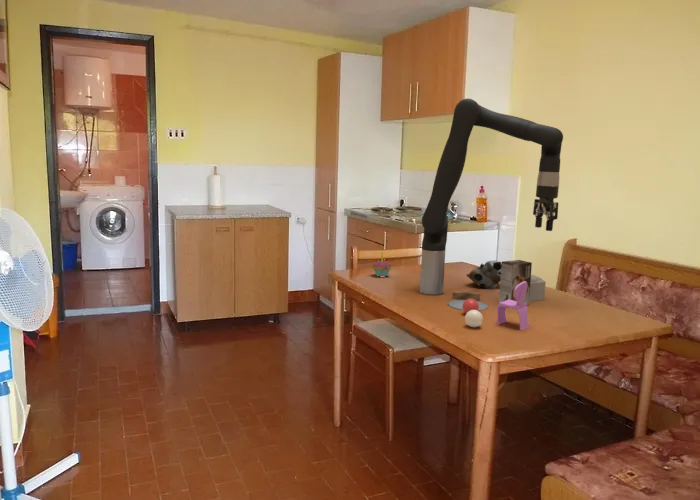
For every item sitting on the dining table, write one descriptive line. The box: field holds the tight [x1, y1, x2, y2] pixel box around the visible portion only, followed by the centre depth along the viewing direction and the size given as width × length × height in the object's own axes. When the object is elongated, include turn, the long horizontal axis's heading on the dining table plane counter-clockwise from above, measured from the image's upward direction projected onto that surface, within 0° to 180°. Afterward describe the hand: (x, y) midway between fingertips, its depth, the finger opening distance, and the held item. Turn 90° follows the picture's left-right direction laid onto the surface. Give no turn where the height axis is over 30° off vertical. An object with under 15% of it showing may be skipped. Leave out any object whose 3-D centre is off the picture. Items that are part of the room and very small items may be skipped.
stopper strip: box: [452, 291, 481, 302], centre depth 208 cm, size 10×2×2 cm, turn 82°
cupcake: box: [371, 250, 392, 277], centre depth 243 cm, size 9×8×12 cm
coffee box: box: [498, 259, 533, 306], centre depth 200 cm, size 9×6×16 cm
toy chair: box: [496, 281, 530, 331], centre depth 175 cm, size 8×9×15 cm
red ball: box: [462, 299, 479, 315], centre depth 187 cm, size 6×6×6 cm
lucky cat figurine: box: [466, 260, 502, 290], centre depth 229 cm, size 15×12×14 cm
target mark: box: [447, 299, 488, 312], centre depth 199 cm, size 14×14×1 cm
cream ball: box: [464, 310, 484, 328], centre depth 173 cm, size 6×6×6 cm
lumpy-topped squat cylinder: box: [529, 274, 546, 302], centre depth 212 cm, size 10×13×9 cm
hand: (543, 229), depth 201 cm, fingers open, 8 cm apart
